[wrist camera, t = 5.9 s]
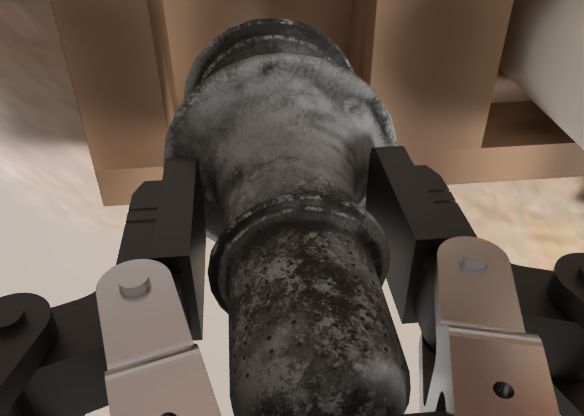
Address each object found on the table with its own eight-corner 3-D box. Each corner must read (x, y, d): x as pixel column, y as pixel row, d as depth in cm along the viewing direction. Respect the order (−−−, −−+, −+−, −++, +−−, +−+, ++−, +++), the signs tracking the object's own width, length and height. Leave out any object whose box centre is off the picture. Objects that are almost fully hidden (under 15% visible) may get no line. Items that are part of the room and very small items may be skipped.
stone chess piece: (399, 42, 16) (674, 405, 6) (327, 202, 19) (435, 610, 9) (199, -24, 14) (154, 329, 5) (155, 163, 17) (74, 605, 8)
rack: (739, -136, 22) (855, -122, 18) (638, 116, 28) (706, 168, 24) (64, -123, 20) (23, -104, 16) (122, 145, 26) (103, 206, 22)
